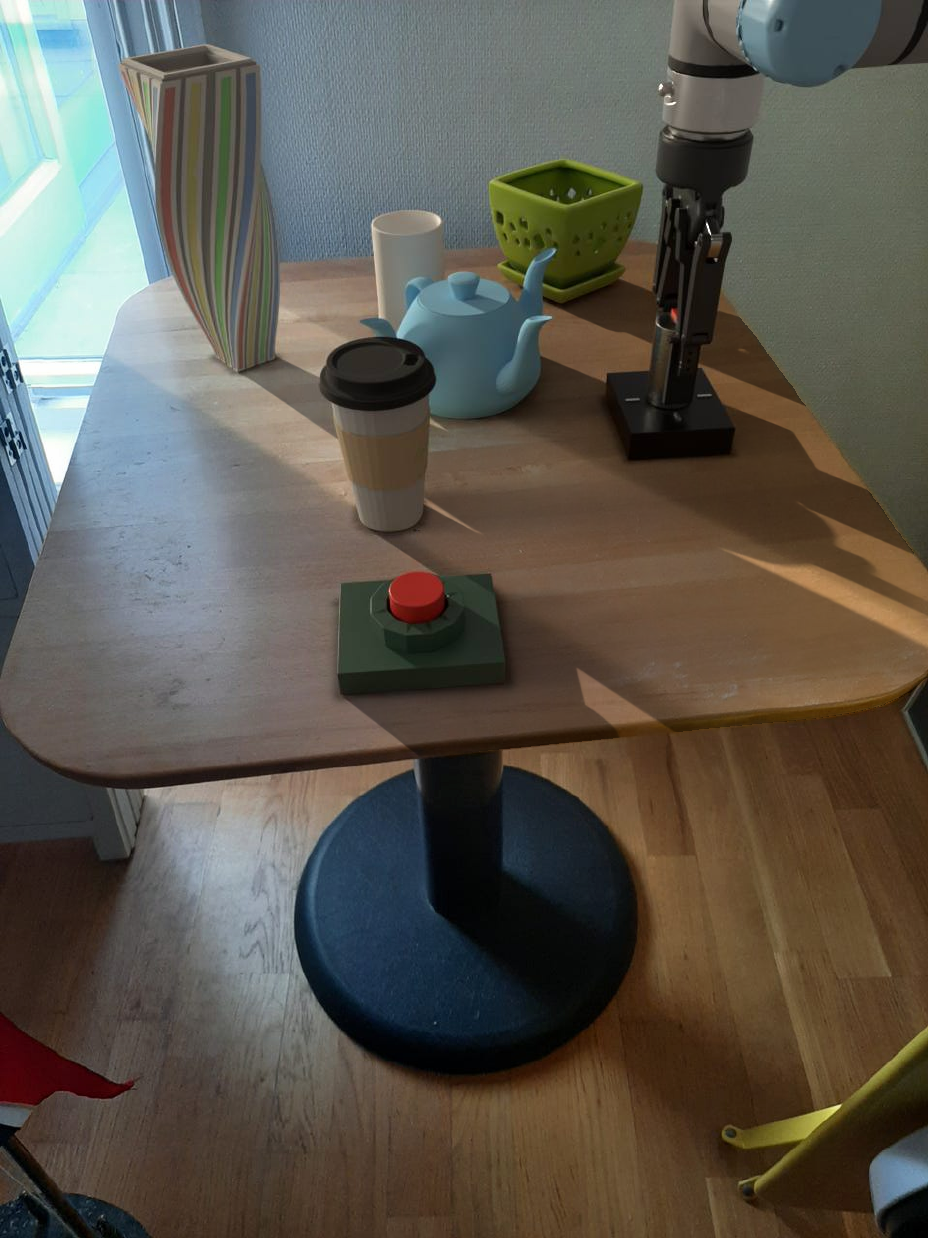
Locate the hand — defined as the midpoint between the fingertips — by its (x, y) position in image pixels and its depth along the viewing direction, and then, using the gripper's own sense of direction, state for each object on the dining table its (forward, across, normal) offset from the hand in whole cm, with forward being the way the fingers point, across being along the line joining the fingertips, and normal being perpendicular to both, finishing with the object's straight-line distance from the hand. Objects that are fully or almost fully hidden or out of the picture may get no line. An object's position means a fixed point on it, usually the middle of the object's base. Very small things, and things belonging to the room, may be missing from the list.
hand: (670, 387), depth 90 cm
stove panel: (+4, 0, 0) cm, 4 cm away
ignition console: (+4, +29, -26) cm, 39 cm away
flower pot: (+4, -36, -5) cm, 37 cm away
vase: (+4, -20, -44) cm, 49 cm away
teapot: (+4, -9, -19) cm, 21 cm away
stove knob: (+1, 0, 0) cm, 1 cm away
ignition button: (+1, +29, -26) cm, 39 cm away
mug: (+4, -28, -25) cm, 38 cm away
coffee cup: (+4, +12, -28) cm, 31 cm away
